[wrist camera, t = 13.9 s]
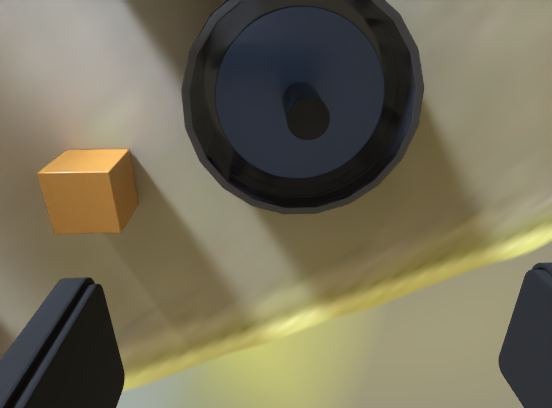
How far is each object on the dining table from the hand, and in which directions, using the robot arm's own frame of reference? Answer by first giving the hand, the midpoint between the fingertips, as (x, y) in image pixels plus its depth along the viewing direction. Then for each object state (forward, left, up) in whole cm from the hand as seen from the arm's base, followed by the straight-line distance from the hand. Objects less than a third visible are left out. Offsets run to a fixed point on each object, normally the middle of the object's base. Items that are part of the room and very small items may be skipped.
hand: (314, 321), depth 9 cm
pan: (-1, +1, -22) cm, 22 cm away
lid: (-1, +1, -20) cm, 20 cm away
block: (+5, -13, -22) cm, 26 cm away
